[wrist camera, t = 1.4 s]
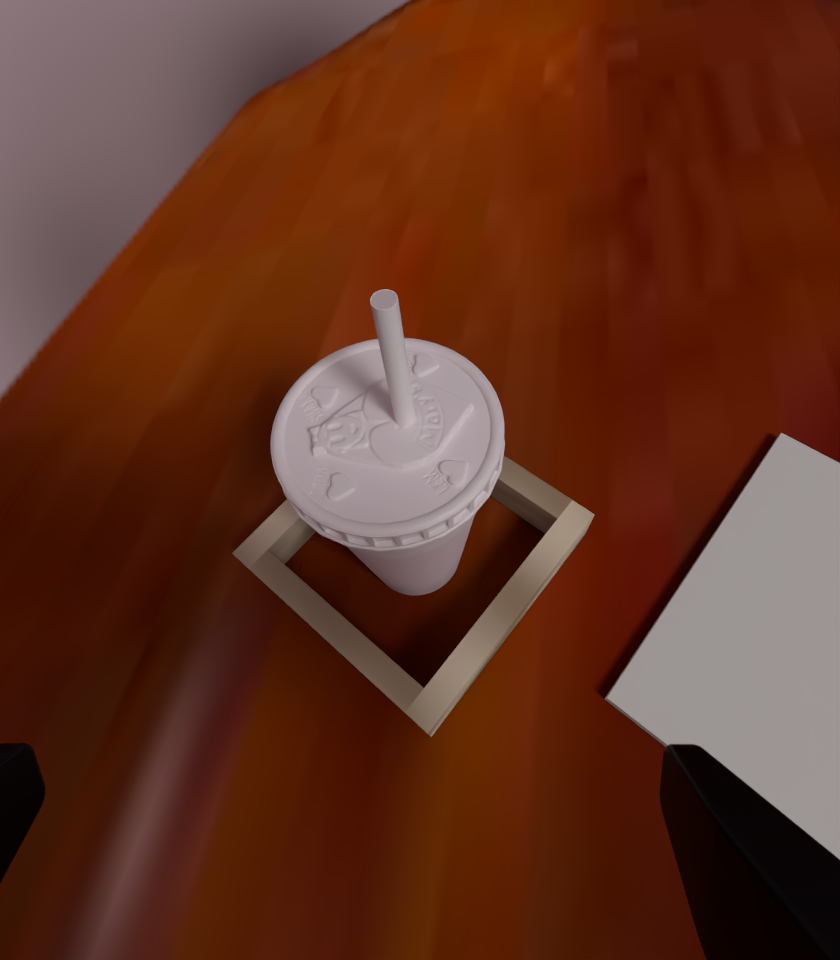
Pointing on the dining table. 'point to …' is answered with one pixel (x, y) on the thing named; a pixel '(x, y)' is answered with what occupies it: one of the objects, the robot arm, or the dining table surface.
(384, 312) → the smoothie
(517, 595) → the holder
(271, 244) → the dining table surface
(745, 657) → the mat
